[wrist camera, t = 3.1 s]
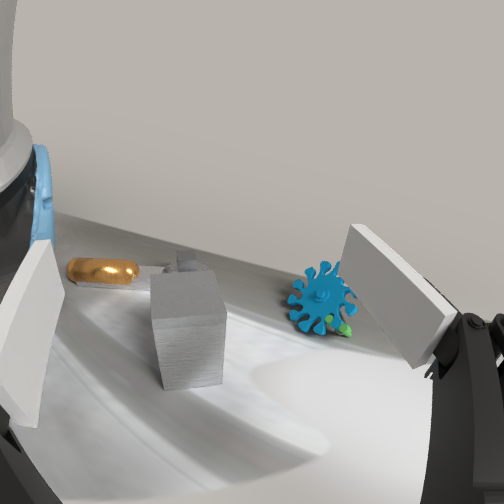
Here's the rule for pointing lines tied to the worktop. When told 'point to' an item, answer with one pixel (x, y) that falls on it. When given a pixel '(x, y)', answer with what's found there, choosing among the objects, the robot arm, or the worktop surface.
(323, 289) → the gear
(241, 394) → the worktop surface
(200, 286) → the brushed metal block
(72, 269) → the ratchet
